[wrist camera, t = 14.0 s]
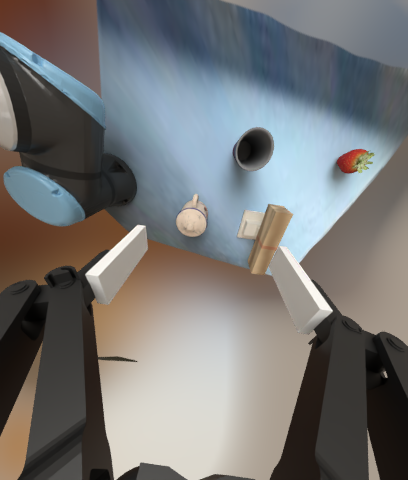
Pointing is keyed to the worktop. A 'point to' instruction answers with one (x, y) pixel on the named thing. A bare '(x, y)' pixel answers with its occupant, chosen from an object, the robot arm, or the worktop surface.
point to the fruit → (354, 161)
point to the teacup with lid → (192, 218)
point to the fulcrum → (250, 224)
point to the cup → (254, 149)
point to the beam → (268, 238)
